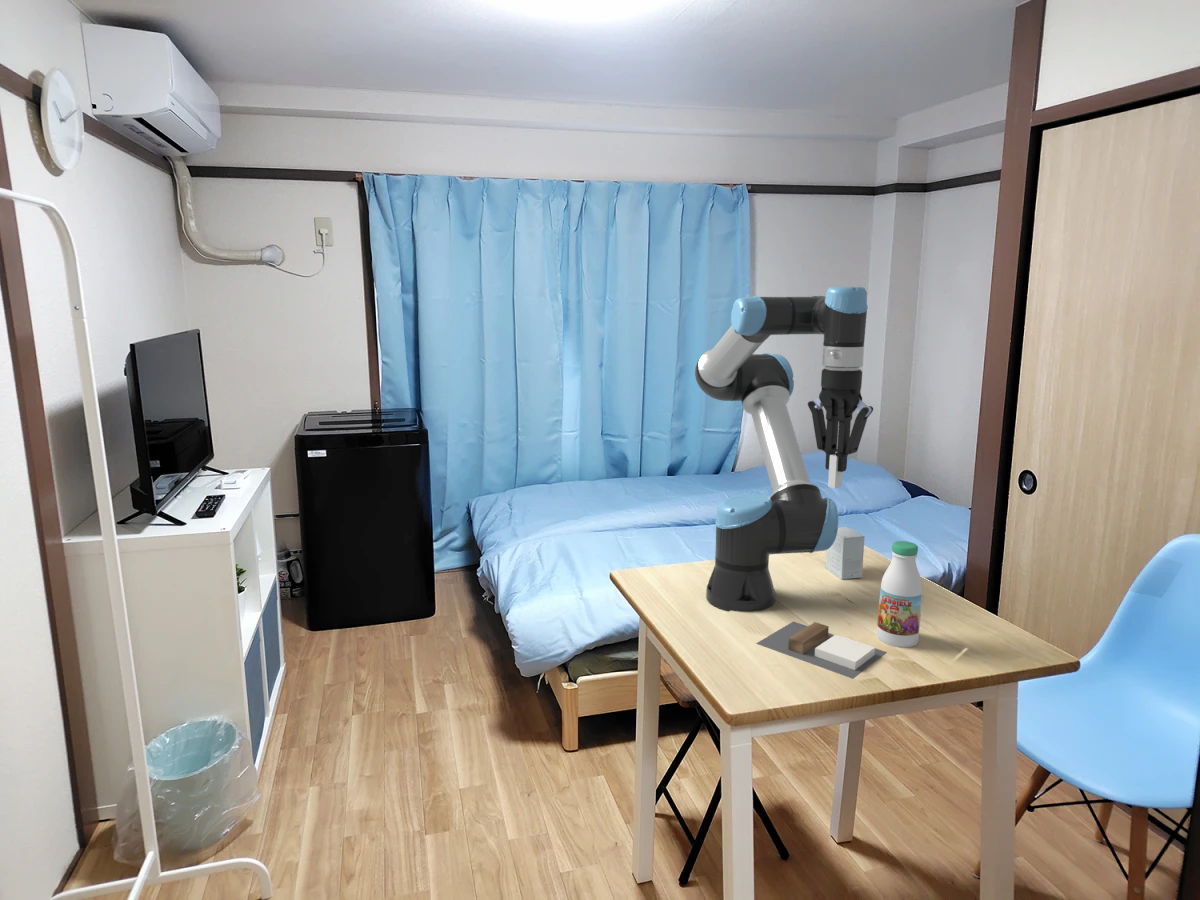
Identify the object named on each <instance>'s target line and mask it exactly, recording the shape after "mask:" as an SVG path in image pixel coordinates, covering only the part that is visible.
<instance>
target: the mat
mask: <svg viewBox="0 0 1200 900" xmlns="http://www.w3.org/2000/svg"><path fill="white" fill-rule="evenodd" d="M807 626H808V625H804V624H802V623H800V622H796V621H791V622H790V623H787V625H784V626H783V627H782V628H779V629H778V630H776V631H774V632H773V633H771V634H769V635H768V636H767V637H765V638H762V639H761V640H759V641H758V642H756V643H755V644H756V645H759V646H761V647H764V648H767V649H770V650H771V651H775V652H778V653H781V654H784V655H787V656H790V657H792V658H794V659H797V660H800V661H803V662H806V663H807V664H808V663H809V664H811V665H814V666H817V667H820V668H823V669H825V670H828V671H830V672H832V673H835V674H839V675H841V676H844V677H847V678H850V679H855V678H856V677H857V676H858V675H860V674H861V673H862V672H863V671H864V670H866V669H867V668H869V667H870V666H871V665H872V664H874V663H875V662H877V661H878V660H879V659H881V657H883V656H884V655H886V654H887V653H888V652H887V651H884V650H882V649H879V648H875V654H874V656H873V657H872V658H870V659H869V660H868V661H866V662H865V663H864V664H862V665H861V666H860V667H858V668H857V669H856V670H853V669H850V668H847V667H844V666H841V665H839V664H836V663H833V662H830V661H827V660H825V659H822V658H819V657H816V656H815V648H816V647H818V646H819V645H821V644H822V643H824V642H825V641H827V640H828V639H830V638H831V637H833V636H834V635H835V634H833V633H830V632H828V638H827V639H825V640H824V641H822V642H821V643H819V644H818V645H816V646H815V647H813V648H812V649H810V650H809V651H807V652H806V653H804V654H803V655H802V654H799V653H796V652H794V651H791V650H788V646H789V638H790V637H791V636H793V635H795V634H796V633H798V632H799V631H801V630H803V629H804V628H806V627H807Z"/></svg>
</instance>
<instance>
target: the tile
mask: <svg viewBox="0 0 1200 900" xmlns="http://www.w3.org/2000/svg"><path fill="white" fill-rule="evenodd" d="M833 635H834V636H833V637H831V638H830V639H828V640H827V641H825V642H824V643H822V644H821V645H819V646H818V647H816V648H815V656H816V657H819V658H822V659H825V660H827V661H830V662H833V663H836V664H839V665H841V666H844V667H847V668H850V669H853V670H856V669H857V668H858V667H860V666H861V665H862V664H864V663H865V662H866V661H868V660H869V659H870V658H872V657H873V656H874V654H875V646H872V645H868V644H866V643H862V642H860V641H856V640H853V639H851V638H848V637H844V636H841V635H837V634H833Z"/></svg>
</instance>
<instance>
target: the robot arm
mask: <svg viewBox="0 0 1200 900" xmlns="http://www.w3.org/2000/svg"><path fill="white" fill-rule="evenodd" d="M732 306H733V307H732V309H731V314H730V315H731V316H730V318H731V319H730V320H731V325H730V327H729V328H728V329H727V331H726V332H725V333H724V334H723V335H722V337H721V338H719V340H718V341H717V343H716V344H715V346H714V347H713V348H712V349H711V348H710V349H709V350H706V351H705V352H704V353H702V355H701V356H700V358H699V359H698V360H697V362H696V365H695V368H694V376H695V380H696V382H697V385H698V387H699V388H700V389H701V391H702V392H704V394H706V395H707V396H709V397H710V398H712V399H715V400H717V401H722V402H723V401H725V402H737V401H738V402H739V401H740V402H741V405H742V408H743V410H744V412H746V413H748V414H749V415H751V417H752V421H753V425H754V428H755V431H756V435H757V436H756V437H757V439H758V442H759V446H760V450H761V454H762V457H763V460H764V464H765V468H766V469H765V470H766V471H767V475H768V479H769V483H770V486H771V489H772V493H771V495H770V496H768V495H767V494H763V493H752V492H751V493H750V492H749V493H747V492H746V493H740V494H735V495H732V496H728V497H726V498H724V499H723V500H722V501H721V502H720V503H718V505H717V510H716V511H717V512H716V518H715V555H714V556H715V557H714V560H715V561H714V566H713V570H712V572H711V575H710V577H709V580H708V583H707V585H706V591H705V593H706V595H705V597H706V601H707V602H708V603H709V604H711V606H714V607H716V608H718V609H721V610H725V611H727V612H730V611H732V612H741V613H749V612H750V613H751V612H753V613H754V612H759V611H760V612H761V611H764V610H767V609H769V608H771V607H773V605H774V604H775V602H776V590H775V588H774V584H773V579H772V575H771V573H770V569H769V561H770V560H769V559H770V555H777V554H778V555H780V554H781V555H782V554H785V555H786V554H799V553H800V554H802V553H809V554H812V553H814V552H824V551H826V550H827V549H829V548H830V547H831V546H832V545H833V543H834V541H835V539H836V536H837V530H838V528H839V513H838V508H837V505H836V503H835V502H834V500H832V499H831V498H828V497H824V498H823V497H822V493H821V490H820V488H819V486H817V484H814V483H811V482H810V478H809V475H808V474H809V473H808V472H807V467H806V465H805V462H804V458H803V456H802V453H801V452H802V451H801V448H800V446H799V442H798V439H797V436H796V432H795V430H794V426H793V423H792V420H791V416H790V413H789V410H788V402H789V401H790V397H791V396H792V394H793V392H794V386H795V381H794V379H793V378H794V372H793V369H792V366H791V364H790V362H789V361H788V359H787V358H786V357H785V356H783V355H782V354H778V353H769V352H765V353H763V352H762V353H761V354H758V353H757V354H756V353H755V352H756V351H757V350H758V349H759V347H761V345H762V344H763V343H764V342H765V341H766V340H767V339H769V337H770V336H777V335H779V336H780V335H787V336H789V335H823V342H822V343H823V347H822V362H821V363H822V364H821V365H822V366H823V367H824V368H823V369H822V370H821V377H820V379H821V380H820V381H821V382H820V386H821V391H820V392H819V395H818V398H817V397H816V398H815V399H814V400H810V401H808V402H807V406H808V408H809V411H810V413H811V417H812V423H813V429H814V436H815V441H816V447H817V450H821V451H822V452H824V453H825V465H824V466H825V470H828V481H827V487H828V488H832V489H836V488H840V487H842V485H843V484H842V483H843V482H842V481H843V472H846V471H847V468H848V467H847V465H848V456H849V455H851V454H854V453H857V452H858V450H859V447H860V443H861V440H862V437H863V434H864V431H865V427H866V425H867V421H868V418H869V417H870V415H871V414H872V413H873V411H874V408H873V406H868V404H866V403H865V402H864V401H863V397H862V394H861V389H862V382H863V371H862V369H860V368H862V367H863V366H864V354H865V353H864V351H865V348H864V347H865V336H866V326H867V325H866V324H867V313H868V309H869V307H868V292H867V289H866V287H863V286H830V287H829V288H827V290H826V294H825V296H823V295H812V296H758V295H753V296H748V297H747V296H746V297H739V298H737V299H736V300H735V302H734V303H733V305H732ZM823 407H824V409H823ZM824 410H825V411H826V412H825V415H824ZM855 411H856V413H857V414H856V417H855V418H854V419H855V420H854V423H853V425H852V429H851V421H852V420H853V413H855ZM825 419H826V420H825Z"/></svg>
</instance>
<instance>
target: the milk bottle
mask: <svg viewBox="0 0 1200 900" xmlns="http://www.w3.org/2000/svg"><path fill="white" fill-rule="evenodd" d="M918 548H919V546H918V544H916V543H914V542H911V541H906V540H905V541H904V540H897V541H894V542H892V545H891V550H892V551H891V555H892V557H891V558H892V559H891V561H890V563H889V565H888V567H887V568H886V570H885V572H884V574H883V575H882V579H881V583H880V590H879V600H878V601H879V602H878V611H877V613H878V615H877V627H876V636H877V639H878V640H879V641H880V642H881V643H883V644H885V645H888V646H891V647H894V648H913V647H915V646H916V645H918V643H919V637H920V628H921V616H922V605H923V581H922V577H921V574H920V572H919V569H918V566H917V560H916V558H917V557H918V552H919V549H918Z"/></svg>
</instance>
